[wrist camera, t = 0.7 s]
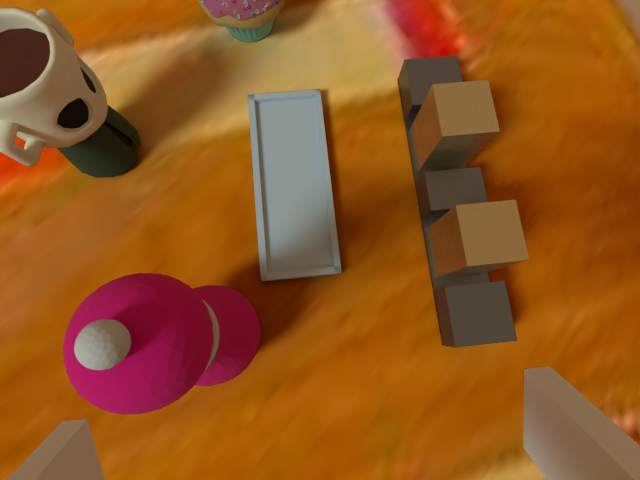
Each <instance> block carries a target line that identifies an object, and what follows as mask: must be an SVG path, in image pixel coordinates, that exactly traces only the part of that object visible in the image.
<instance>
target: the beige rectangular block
mask: <svg viewBox="0 0 640 480" xmlns="http://www.w3.org/2000/svg"><path fill="white" fill-rule="evenodd" d="M499 132H500V129H499V124H498V120H497V116H496V111H495V107H494V103H493V98H492V94H491V89H490V85H489V81H488V80H480V81H467V82H455V83H442V84H432V86H431V88H430V90H429V92H428V94H427V96H426V98H425V100H424V102H423V104H422V106H421V108H420V110H419V112H418V114H417V116H416V118H415V120H414V122H413V124H412V126H411V128H410V134H411V139H412V145H413V151H414V157H415V163H416V169H417V173H421V172H430V171H441V170H452V169H463V168H465V167H466V166H467V165H468V164H469V163H470V162H471V161H472V160H473V159H474V158H475V157H476V156H477V155H478V154H479V153H480V152H481V151H482V150H483V149H484V147H485V146H486V145H487V144H488V143H489V142H490V141H491V140H492V139H493V138H494V137H495V136H496V135H497V134H498V133H499Z"/></svg>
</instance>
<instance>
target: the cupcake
mask: <svg viewBox="0 0 640 480" xmlns="http://www.w3.org/2000/svg"><path fill="white" fill-rule="evenodd" d="M197 1H198V3H199V5H200V6H201V8H202V9H203V10H204V12H205V13H206V14H207V15H208V16H209V17H210V19H211V20H212V21H213V22H214V23H215V24H216V25H218V26H226V28H227V29H228V30H229V32H230V33H231V34H232V35H233V36H234V37H235V38H236V39H238V40H241V41H244V42H255V41H259V40H261V39H263V38H264V37H266V36H267V35H268V34H269V33H270V31H271V29H272V26H273V22H274V19H275V18H276V17H277V15H278V13H279V11H280V10H281V8H282V7H283V6H284V4H285V0H197Z"/></svg>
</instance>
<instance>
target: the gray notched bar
mask: <svg viewBox="0 0 640 480" xmlns="http://www.w3.org/2000/svg"><path fill="white" fill-rule="evenodd" d="M455 82H463V81H462V77H461V72H460V67H459V62H458V58H457V56H447V57H434V58H421V59H408V60H404V63H403V66H402V69H401V72H400V75H399V77H398V86H399V92H400V98H401V104H402V110H403V116H404V122H405V127H406V133H407V139H408V145H409V151H410V157H411V163H412V169H413V175H414V181H415V187H416V193H417V198H418V204H419V210H420V216H421V222H422V228H423V234H424V240H425V246H426V252H427V258H428V264H429V269H430V275H431V281H432V287H433V293H434V299H435V305H436V311H437V317H438V323H439V329H440V335H441V340H442V345H444V346H450V347H463V346H472V345H481V344H490V343H499V342H508V341H517V336H516V332H515V327H514V322H513V318H512V313H511V308H510V303H509V299H508V294H507V289H506V284H505V281H496V282H489V277H488V272H487V273H481V274H471V275H461V276H452V277H442V278H435V274H434V268H433V262H432V256H431V250H430V244H429V239H428V233H427V229H428V228H429V227H430V226H431V225H432V224H434V223H435V222H436V221H437V220H438V219H440V218H441V217H442V216H443V215H444V214H446V213H447V212H448V211H449V210H450V209H452V208H453V207H454V206H455V205H464V204H474V203H485V202H488V199H487V195H486V190H485V185H484V181H483V176H482V171H481V167H474V168H466V167H465V168H463V169H452V170H441V171H430V172H421V173H417V169H416V163H415V157H414V151H413V145H412V139H411V134H410V128H411V126H412V124H413V122H414V120H415V118H416V116H417V114H418V112H419V110H420V108H421V106H422V104H423V102H424V100H425V98H426V96H427V94H428V92H429V90H430V88H431V86H432V84H442V83H455Z"/></svg>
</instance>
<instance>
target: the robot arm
mask: <svg viewBox="0 0 640 480" xmlns="http://www.w3.org/2000/svg"><path fill="white" fill-rule="evenodd" d="M524 449H525V450H526V452H527V453H528V455H529V456H530V457H531V459H532V460H533V461H534V463H535V464H536V466H537V467H538V468H539V470H540V471H541V472H542V474H543V475H544V477H545V478H546V479H547V480H640V445H638V444H637V443H636V442H635V441H634V440H633V439H632V438H631V437H629V436H628V435H627V434H626V433H625V432H624V431H623V430H621V429H620V428H619V427H618V426H617V425H616V424H615V423H614V422H612V421H611V420H610V419H609V418H608V417H607V416H606V415H604V414H603V413H602V412H601V411H600V410H599V409H598V408H597V407H595V406H594V405H593V404H592V403H591V402H590V401H589V400H587V399H586V398H585V397H584V396H583V395H582V394H581V393H580V392H578V391H577V390H576V389H575V388H574V387H573V386H572V385H570V384H569V383H568V382H567V381H566V380H565V379H564V378H563V377H561V376H560V375H559V374H558V373H557V372H556V371H555V370H553V369H552V368H551V367H550V366H549V367H540V368H531V369H524ZM7 480H104V476H103V473H102V469H101V466H100V462H99V459H98V455H97V452H96V448H95V445H94V441H93V438H92V434H91V431H90V427H89V424H88V421H87V419H81V420H73V421H64V422H61V423H60V424H59V425H58V426H57V427H56V428H55V429H54V430H53V431H52V433H51V434H50V435H49V436H48V437H47V438H46V439H45V440H44V441H43V442H42V443H41V444H40V445H39V446H38V447H37V448H36V449H35V451H34V452H33V453H32V454H31V455H30V456H29V457H28V458H27V459H26V460H25V461H24V462H23V463H22V464H21V465H20V466H19V467H18V469H17V470H16V471H15V472H14V473H13V474H12V475H11V476H10V477H9V478H8V479H7Z"/></svg>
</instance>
